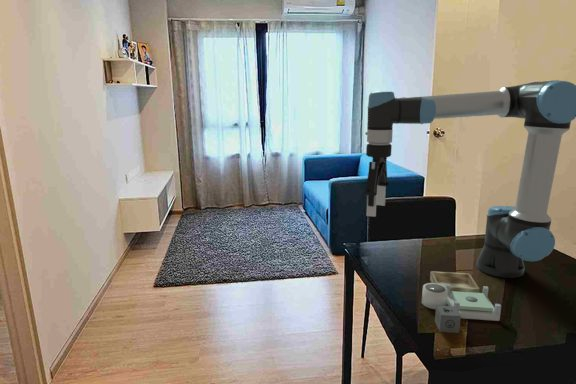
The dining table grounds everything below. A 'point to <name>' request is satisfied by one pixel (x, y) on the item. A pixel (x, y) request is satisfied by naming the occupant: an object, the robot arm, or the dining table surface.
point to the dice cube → (447, 319)
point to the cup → (434, 295)
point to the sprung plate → (472, 301)
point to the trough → (455, 281)
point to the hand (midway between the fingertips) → (376, 210)
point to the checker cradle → (475, 313)
